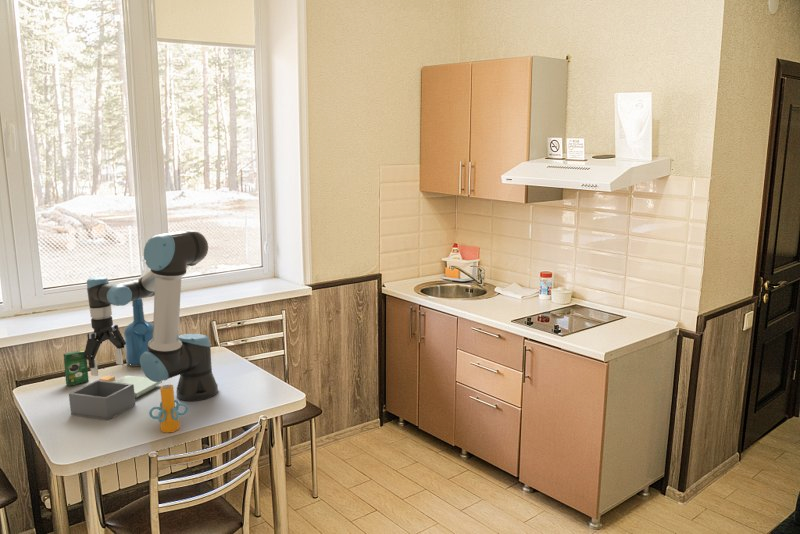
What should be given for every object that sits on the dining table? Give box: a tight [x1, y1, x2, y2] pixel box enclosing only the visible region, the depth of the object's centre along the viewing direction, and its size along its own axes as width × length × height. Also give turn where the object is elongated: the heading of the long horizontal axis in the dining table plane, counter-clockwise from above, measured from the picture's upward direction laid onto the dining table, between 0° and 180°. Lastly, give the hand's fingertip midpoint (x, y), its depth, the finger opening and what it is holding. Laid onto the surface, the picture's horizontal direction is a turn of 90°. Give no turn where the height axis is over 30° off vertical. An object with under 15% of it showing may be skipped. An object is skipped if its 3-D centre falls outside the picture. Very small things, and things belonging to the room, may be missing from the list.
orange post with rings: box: [149, 384, 189, 434], centre depth 222 cm, size 12×10×15 cm
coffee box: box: [63, 349, 90, 387], centre depth 265 cm, size 8×3×13 cm, turn 133°
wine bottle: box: [123, 298, 153, 366], centre depth 288 cm, size 14×13×30 cm
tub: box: [68, 379, 136, 421], centre depth 239 cm, size 16×14×8 cm
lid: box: [98, 374, 163, 399], centre depth 259 cm, size 22×15×4 cm
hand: (107, 369), depth 260 cm, fingers open, 13 cm apart
